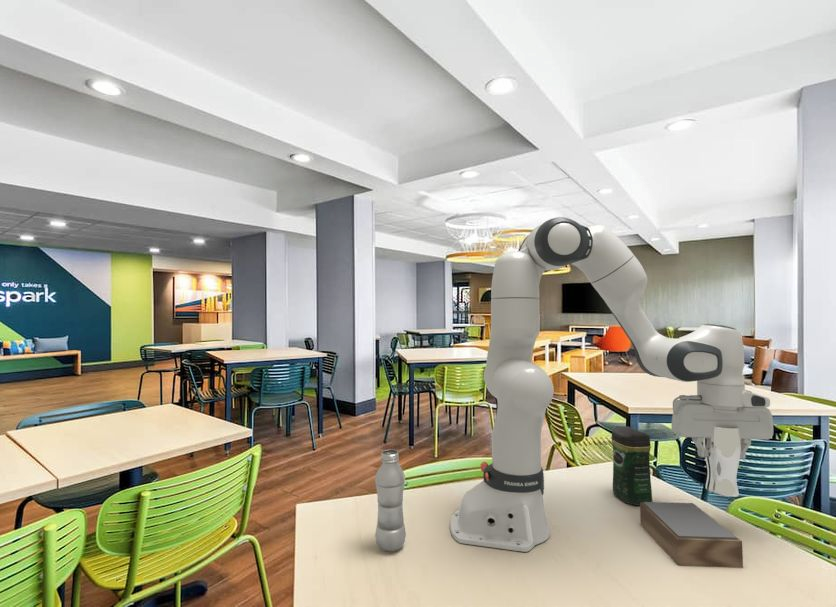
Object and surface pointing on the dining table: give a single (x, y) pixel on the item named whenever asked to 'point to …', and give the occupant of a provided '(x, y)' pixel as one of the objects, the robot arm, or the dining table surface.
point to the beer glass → (723, 461)
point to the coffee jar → (631, 465)
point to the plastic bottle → (390, 502)
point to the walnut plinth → (691, 535)
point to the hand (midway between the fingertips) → (721, 457)
